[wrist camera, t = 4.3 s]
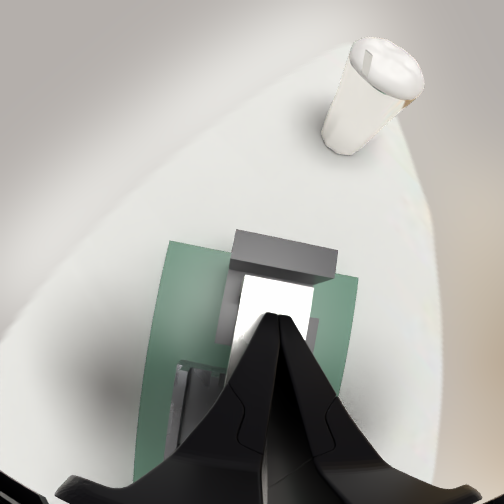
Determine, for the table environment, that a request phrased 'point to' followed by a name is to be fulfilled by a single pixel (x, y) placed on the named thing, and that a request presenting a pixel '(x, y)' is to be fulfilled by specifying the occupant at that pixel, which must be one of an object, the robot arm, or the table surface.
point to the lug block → (272, 273)
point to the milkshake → (370, 93)
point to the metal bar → (251, 312)
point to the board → (204, 332)
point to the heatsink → (191, 399)
